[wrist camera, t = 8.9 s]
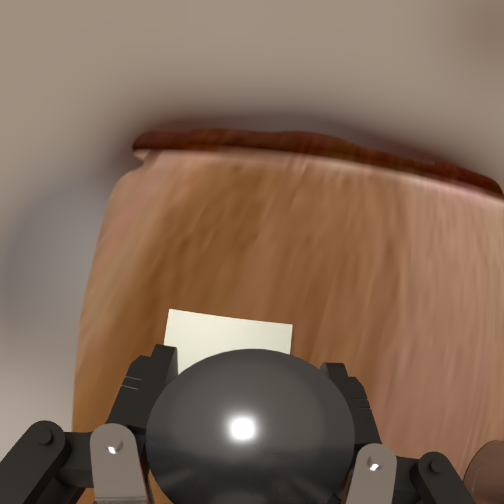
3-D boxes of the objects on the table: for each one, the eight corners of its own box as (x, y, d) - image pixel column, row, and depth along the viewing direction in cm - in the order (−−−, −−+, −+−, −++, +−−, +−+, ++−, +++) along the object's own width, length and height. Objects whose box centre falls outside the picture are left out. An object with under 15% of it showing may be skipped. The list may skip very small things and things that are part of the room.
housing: (295, 361, 15) (363, 354, 7) (284, 456, 13) (338, 527, 5) (191, 349, 14) (157, 334, 7) (181, 447, 13) (142, 517, 5)
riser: (286, 328, 29) (292, 324, 27) (274, 436, 25) (279, 443, 23) (175, 314, 29) (169, 308, 26) (161, 421, 25) (154, 427, 22)
